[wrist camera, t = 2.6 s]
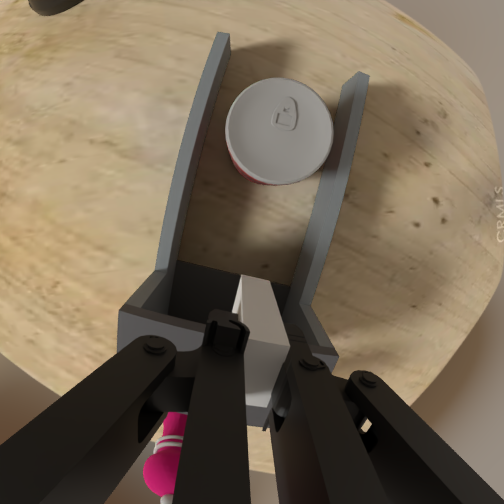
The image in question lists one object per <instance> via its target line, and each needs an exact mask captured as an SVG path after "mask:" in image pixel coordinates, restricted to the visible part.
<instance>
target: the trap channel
mask: <svg viewBox="0 0 504 504" xmlns="http://www.w3.org/2000/svg"><path fill="white" fill-rule="evenodd" d="M230 55H231V48H230V34H229V33H223V32H217V35H216V37H215V40H214V42H213V45H212V48H211V50H210V53H209V56H208V59H207V62H206V64H205V67H204V70H203V73H202V76H201V79H200V82H199V85H198V88H197V91H196V95H195V98H194V101H193V104H192V108H191V111H190V114H189V118H188V121H187V125H186V128H185V132H184V135H183V139H182V143H181V147H180V150H179V154H178V158H177V162H176V166H175V170H174V175H173V179H172V183H171V187H170V192H169V196H168V201H167V206H166V211H165V216H164V221H163V226H162V231H161V236H160V242H159V248H158V253H157V259H156V266H155V271H154V272H153V273H152V274H151V275H150V276H149V277H148V278H147V279H146V280H145V282H144V283H143V284H142V285H141V286H140V287H139V288H138V289H137V290H136V291H135V293H134V294H133V295H132V296H131V297H130V298H129V299H128V300H127V302H126V303H125V304H124V305H123V306H122V307H121V308H120V309H119V314H118V332H117V353H118V352H119V351H120V350H122V349H123V348H124V347H126V346H127V345H128V344H129V343H131V342H132V341H133V340H134V339H136V338H138V337H140V336H144V335H156V336H160V337H163V338H166V339H168V340H169V341H171V342H172V343H173V344H174V345H175V346H176V349H177V351H192V350H195V349H198V348H199V347H200V346H201V345H202V342H203V337H204V332H205V328H206V323H207V320H208V316H209V313H210V312H211V311H213V310H214V309H219V310H223V311H227V312H232V310H233V306H234V302H235V298H236V294H237V290H238V286H239V282H240V278H241V275H239V274H234V273H230V272H226V271H222V270H217V269H213V268H209V267H205V266H200V265H196V264H192V263H188V262H184V261H180V260H177V258H178V253H179V248H180V243H181V238H182V233H183V228H184V223H185V219H186V214H187V209H188V205H189V201H190V196H191V192H192V188H193V183H194V179H195V175H196V171H197V167H198V163H199V159H200V155H201V152H202V148H203V144H204V140H205V137H206V133H207V129H208V126H209V122H210V119H211V115H212V112H213V108H214V105H215V102H216V98H217V95H218V92H219V89H220V85H221V82H222V79H223V76H224V73H225V70H226V67H227V64H228V61H229V58H230ZM369 77H370V76H369V75H367V74H365V73H362V72H360V71H359V72H357V73H356V74H355V75H354V76H353V77H352V78H350V79H349V80H348V81H347V82H346V83H345V84H344V85H343V86H342V90H341V95H340V100H339V104H338V109H337V113H336V118H335V122H334V127H333V131H334V134H333V143H332V146H331V149H330V153H329V155H328V156H327V158H326V160H325V164H324V168H323V172H322V176H321V180H320V184H319V188H318V191H317V195H316V199H315V203H314V206H313V210H312V214H311V217H310V221H309V225H308V228H307V232H306V235H305V239H304V242H303V246H302V249H301V253H300V256H299V259H298V263H297V266H296V270H295V273H294V276H293V280H292V283H291V286H288V285H283V284H279V283H274V282H270V283H271V287H272V290H273V293H274V296H275V299H276V302H277V306H278V309H279V312H280V315H281V318H282V321H283V322H285V323H291V324H296V325H297V326H298V327H299V328H300V329H301V330H302V331H303V334H304V336H305V338H306V341H307V343H308V346H309V348H310V350H311V353H312V355H313V356H315V357H317V358H319V359H321V360H322V361H324V362H325V363H326V365H327V366H328V367H329V370H330V372H331V373H332V371H333V369H334V367H335V365H336V362H337V360H338V358H339V355H338V353H337V352H336V350H335V348H334V346H333V345H332V343H331V341H330V339H329V337H328V336H327V334H326V332H325V330H324V329H323V327H322V325H321V323H320V322H319V320H318V318H317V316H316V314H315V313H314V311H313V309H312V308H311V303H312V300H313V297H314V294H315V291H316V288H317V285H318V282H319V278H320V275H321V272H322V269H323V266H324V263H325V259H326V256H327V253H328V250H329V246H330V243H331V240H332V236H333V233H334V229H335V226H336V222H337V219H338V215H339V211H340V208H341V204H342V200H343V197H344V193H345V189H346V185H347V181H348V177H349V173H350V169H351V165H352V160H353V156H354V152H355V147H356V143H357V138H358V134H359V129H360V124H361V120H362V115H363V110H364V104H365V99H366V94H367V88H368V82H369ZM271 407H272V399H271V398H270V401H269V403H268V405H267V408H266V407H259V406H251V405H246V418H247V425H248V426H256V427H263V426H264V423H265V421H266V419H267V417H268V414H269V412H270V410H271ZM177 413H181V414H186V415H188V412H177ZM267 428H270V427H269V425H268V427H267Z"/></svg>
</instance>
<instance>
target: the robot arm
mask: <svg viewBox="0 0 504 504" xmlns="http://www.w3.org/2000/svg"><path fill="white" fill-rule="evenodd" d="M28 1H29V5H30V7H31V8H32V9H33V10H34V11H35V12H37V13H38V14H39V15H42V16H50V15H55V14H58V13H60V12H63V11H65V10H67V9H69V8H71V7H72V6H74V5H76V4H77V3H79V2H80V1H82V0H28ZM270 398H271V399H272V407H271V410H270V412H269V414H268V417H267V419H266V421H265V423H264V426H263V430H262V431H266V429H267V427H268V425H269V427H270V435H271V443H272V450H273V458H274V466H275V474H276V482H277V490H278V497H279V504H504V500H503V499H502V498H501V497H500V496H499V495H498V494H497V493H496V492H495V491H494V490H493V489H492V488H491V487H490V486H489V485H488V484H487V483H486V482H485V481H484V480H483V479H482V478H481V477H480V476H479V475H478V474H477V473H476V472H475V471H474V470H473V469H472V468H471V467H470V466H469V465H468V464H467V463H466V462H465V461H464V460H463V459H462V458H461V457H460V456H459V455H458V454H457V453H456V452H454V450H453V449H452V448H451V447H450V446H449V445H448V444H447V443H445V441H444V440H442V438H441V437H440V436H439V435H438V434H437V433H436V432H434V431H433V430H432V428H430V427H429V426H428V425H427V424H426V423H425V422H424V421H423V420H422V419H421V418H420V417H419V416H418V415H417V414H416V413H415V412H414V411H413V410H412V409H411V408H410V407H409V406H408V405H407V404H406V403H405V402H404V401H403V400H402V399H401V398H400V397H399V396H398V395H397V394H396V393H395V392H394V391H393V390H392V389H391V388H390V387H389V386H388V385H387V384H386V383H385V382H384V381H383V380H382V379H381V378H379V377H378V376H377V375H375V374H373V373H372V372H369V371H361V370H358V371H354V372H353V373H352V374H351V375H350V377H349V379H348V380H347V379H343V378H340V377H336V376H333V375H332V374H331V372H330V370H329V367H328V366H327V365H326V363H325V362H324V361H322V360H321V359H319V358H317V357H315V356H313V355H312V353H311V350H310V348H309V346H308V343H307V341H306V338H305V336H304V334H303V331H302V330H301V329H300V328H299V327H298V326H297V325H296V324H291V323H285V322H283V321H282V318H281V315H280V312H279V309H278V306H277V302H276V299H275V296H274V293H273V290H272V287H271V283H270V281H269V280H264V279H260V278H256V277H251V276H247V275H242V274H241V278H240V282H239V286H238V290H237V294H236V298H235V302H234V306H233V310H232V312H227V311H223V310H219V309H214V310H213V311H211V312H210V313H209V316H208V320H207V323H206V328H205V332H204V337H203V342H202V345H201V346H200V347H199V348H198V349H195V350H192V351H177V349H176V346H175V345H174V344H173V343H172V342H171V341H169V340H168V339H166V338H163V337H160V336H156V335H144V336H140V337H138V338H136V339H134V340H133V341H132V342H131V343H129V344H128V345H127V346H126V347H124V348H123V349H122V350H120V351H119V352H118V353H117V354H115V355H114V356H113V357H111V358H110V359H109V360H108V361H106V362H105V363H104V364H103V365H101V366H100V367H99V368H97V369H96V370H95V371H94V372H92V373H91V374H90V375H89V376H87V377H86V378H85V379H83V380H82V381H81V382H80V383H78V384H77V385H76V386H75V387H73V388H72V389H71V390H70V391H68V392H67V393H66V394H64V395H63V396H62V397H61V398H59V399H58V400H57V401H56V402H54V403H53V404H52V405H51V406H49V407H48V408H47V409H46V410H44V411H43V412H42V413H41V414H39V415H38V416H37V417H35V418H34V419H33V420H32V421H30V422H29V423H28V424H27V425H25V426H24V427H23V428H21V429H20V430H19V431H18V432H16V433H15V434H14V435H13V436H11V437H10V438H9V439H8V440H6V441H5V442H4V443H3V444H1V445H0V504H104V503H105V501H106V500H107V499H108V497H109V496H110V495H111V493H112V492H113V490H114V489H115V488H116V487H117V485H118V484H119V482H120V481H121V480H122V478H123V477H124V476H125V474H126V473H127V472H128V470H129V469H130V467H131V466H132V465H133V463H134V462H135V461H136V459H137V458H138V456H139V455H140V454H141V452H142V451H143V449H144V448H145V447H146V445H147V444H148V442H149V441H150V440H151V438H152V437H153V435H154V434H155V433H156V431H157V430H158V428H159V427H160V426H161V424H162V423H163V421H164V420H165V418H166V417H167V415H168V412H188V415H187V420H186V426H185V431H184V436H183V442H182V447H181V453H180V458H179V464H178V470H177V476H176V481H175V487H174V494H173V500H172V504H251V497H250V480H249V460H248V439H247V418H246V405H251V406H259V407H266V408H267V405H268V403H269V401H270ZM367 418H368V420H369V421H370V422H371V423H372V425H371V426H370V428H369V429H368V431H367V432H364V431H363V430H362V429H361V427H362V426H363V424H364V423H365V421H366V420H367Z"/></svg>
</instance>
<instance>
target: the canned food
mask: <svg viewBox="0 0 504 504" xmlns="http://www.w3.org/2000/svg"><path fill="white" fill-rule="evenodd" d="M225 133H226V143H227V146H228V150H229V153H230V156H231V159H232V162H233V164H234V166H235V168H236V169H237V170H238V172H239V173H240V174H241V175H242V176H243V177H245V178H246V179H248V180H250V181H251V182H254V183H257V184H262V185H288V184H292V183H296V182H299V181H301V180H303V179H305V178H307V177H309V176H310V175H312V174H313V173H314V172H315V171H317V170H318V169H319V168H320V166H321V165H322V164H323V163H324V162H325V160H326V158H327V156H328V155H329V153H330V149H331V146H332V143H333V134H334V131H333V122H332V118H331V115H330V112H329V110H328V108H327V106H326V104H325V102H324V101H323V100H322V99H321V97H320V96H319V95H318V94H317V93H316V92H315V91H314V90H313V89H311V88H310V87H308V86H307V85H305V84H303V83H301V82H298V81H296V80H293V79H288V78H269V79H264V80H261V81H258V82H256V83H254V84H252V85H250V86H249V87H247V88H246V89H245V90H243V91H242V92H241V93H240V94H239V96H238V97H237V98H236V99H235V101H234V102H233V104H232V106H231V108H230V111H229V113H228V116H227V120H226V127H225Z"/></svg>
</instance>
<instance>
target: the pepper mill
mask: <svg viewBox="0 0 504 504" xmlns="http://www.w3.org/2000/svg"><path fill="white" fill-rule="evenodd" d="M186 420H187V415H186V414H181V413H177V412H168V415H167V417H166V418H165V420H164V421H163V425H164V430H163V435H162V437H160V438H159V439H158V440H157V441H156V444H155V448H154V454H153V455H151V456H150V457H149V458H148V459H147V461H146V462H145V465H144V469H143V476H144V479H145V482H146V484H147V486H148V487H149V488H150V489H151V490H152V491H153V492H154V493H156V494H157V495H159V496H161V497H162V498H161V504H172V500H173V494H174V487H175V481H176V476H177V470H178V464H179V458H180V453H181V447H182V442H183V436H184V431H185V426H186Z"/></svg>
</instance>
